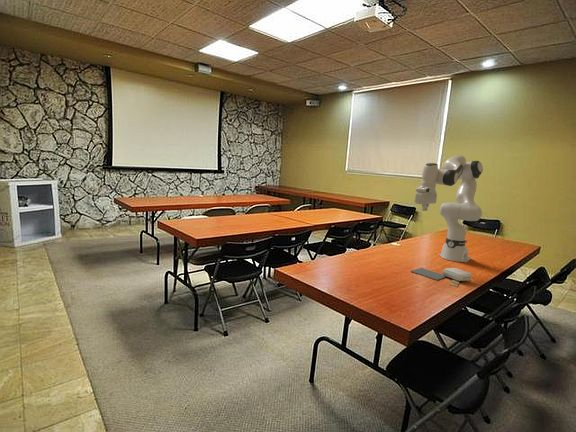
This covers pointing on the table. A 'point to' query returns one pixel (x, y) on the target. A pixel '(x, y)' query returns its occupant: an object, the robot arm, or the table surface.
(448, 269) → the photo printer
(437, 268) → the table surface
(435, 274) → the mat
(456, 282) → the turner
